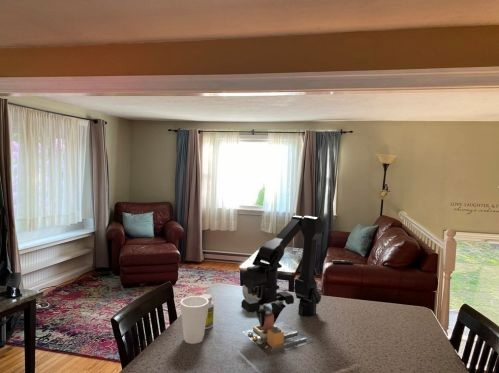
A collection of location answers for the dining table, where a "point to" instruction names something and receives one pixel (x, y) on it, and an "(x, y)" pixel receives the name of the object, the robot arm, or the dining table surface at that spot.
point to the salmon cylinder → (268, 321)
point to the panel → (290, 339)
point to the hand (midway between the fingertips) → (267, 325)
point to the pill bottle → (209, 311)
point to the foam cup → (194, 318)
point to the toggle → (275, 337)
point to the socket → (256, 329)
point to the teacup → (246, 295)
